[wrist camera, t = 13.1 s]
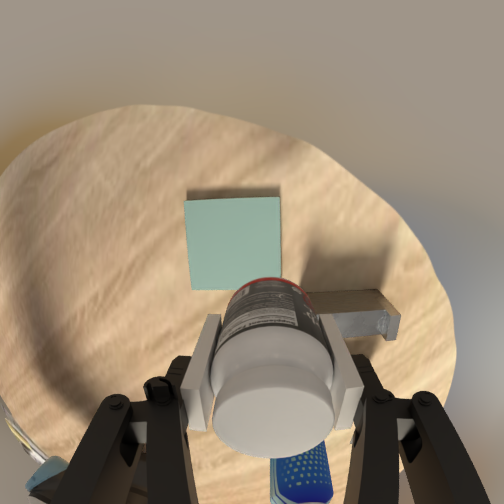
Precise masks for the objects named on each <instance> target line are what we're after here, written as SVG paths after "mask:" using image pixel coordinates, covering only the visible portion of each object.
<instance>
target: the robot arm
mask: <svg viewBox="0 0 504 504" xmlns="http://www.w3.org/2000/svg"><path fill="white" fill-rule="evenodd" d="M318 322H319V325H320V328H321V331H322V334H323V336H324V339H325V342H326V345H327V348H328V351H329V353H330V356H331V360H332V365H333V382H332V386H331V389H330V393H331V397H332V403H333V408H334V412H335V422H334V429H335V430H343V429H351V427H352V424H353V421H354V424H355V427H356V429H355V431H354V434H353V437H352V439H351V442H350V444H352V452H351V460H350V467H349V474H348V481H347V487H346V493H345V498H344V504H398V500H399V499H398V498H399V454H400V457H401V460H402V463H403V466H404V469H405V472H406V475H407V479H408V482H409V485H410V489H411V492H412V495H413V499H414V502H415V504H491V503H490V501H489V499H488V496H487V494H486V492H485V489H484V487H483V485H482V482H481V480H480V478H479V476H478V474H477V471H476V469H475V467H474V465H473V463H472V461H471V459H470V457H469V455H468V453H467V451H466V449H465V447H464V445H463V443H462V441H461V439H460V437H459V436H458V434H457V432H456V430H455V428H454V426H453V424H452V423H451V421H450V419H449V417H448V415H447V414H446V412H445V410H444V408H443V407H442V405H441V403H440V401H439V400H438V398H437V397H436V396H435V395H434V394H433V393H431V392H428V391H419V392H417V393H415V394H414V395H413V397H412V399H400V398H395V397H394V395H393V394H392V393H391V392H390V391H388V390H386V389H383V386H382V384H381V383H380V381H379V379H378V377H377V375H376V373H375V372H374V369H373V367H372V365H371V363H370V361H369V359H368V358H366V357H365V356H364V355H363V354H357V355H350V353H349V351H348V348H347V346H346V344H345V342H344V339H343V337H342V335H341V333H340V331H339V329H338V326H337V324H336V322H335V320H334V318H333V316H332V314H319V321H318ZM221 328H222V323H221V314H208V316H207V318H206V321H205V324H204V326H203V329H202V331H201V334H200V337H199V339H198V342H197V345H196V347H195V350H194V352H193V355H192V356H178V357H176V358H175V359H174V360H173V361H172V363H171V365H170V367H169V369H168V371H167V374H166V376H165V377H161V376H158V377H153V378H151V379H149V380H147V381H146V382H145V384H144V386H143V388H144V391H145V395H146V398H147V400H146V401H139V402H130V401H129V398H127V397H126V396H125V395H122V394H113V395H110V396H108V397H106V398H105V399H104V400H103V401H102V403H101V405H100V407H99V409H98V410H97V412H96V414H95V416H94V418H93V419H92V421H91V423H90V425H89V427H88V429H87V430H86V432H85V434H84V436H83V438H82V440H81V442H80V444H79V446H78V447H77V449H76V451H75V453H74V455H73V457H72V459H71V461H70V463H68V462H67V461H65V460H64V459H62V458H61V457H59V456H51V457H50V458H49V459H47V460H46V461H45V462H44V463H43V464H42V465H41V466H40V468H39V469H38V470H37V471H36V472H35V473H34V474H33V476H32V477H31V478H30V479H29V481H28V482H27V483H26V485H25V487H26V489H27V490H28V491H29V492H31V493H30V495H29V496H28V501H29V504H199V503H198V498H197V493H196V487H195V481H194V476H193V469H192V463H191V457H190V450H189V442H188V436H187V432H186V429H187V426H188V424H189V428H190V430H196V431H207V427H208V422H209V417H210V413H211V408H212V403H213V399H214V392H213V390H212V386H211V379H210V374H211V367H212V361H213V358H214V354H215V350H216V347H217V343H218V339H219V335H220V332H221ZM144 443H146V454H144V453H141V452H142V449H143V446H144Z"/></svg>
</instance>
